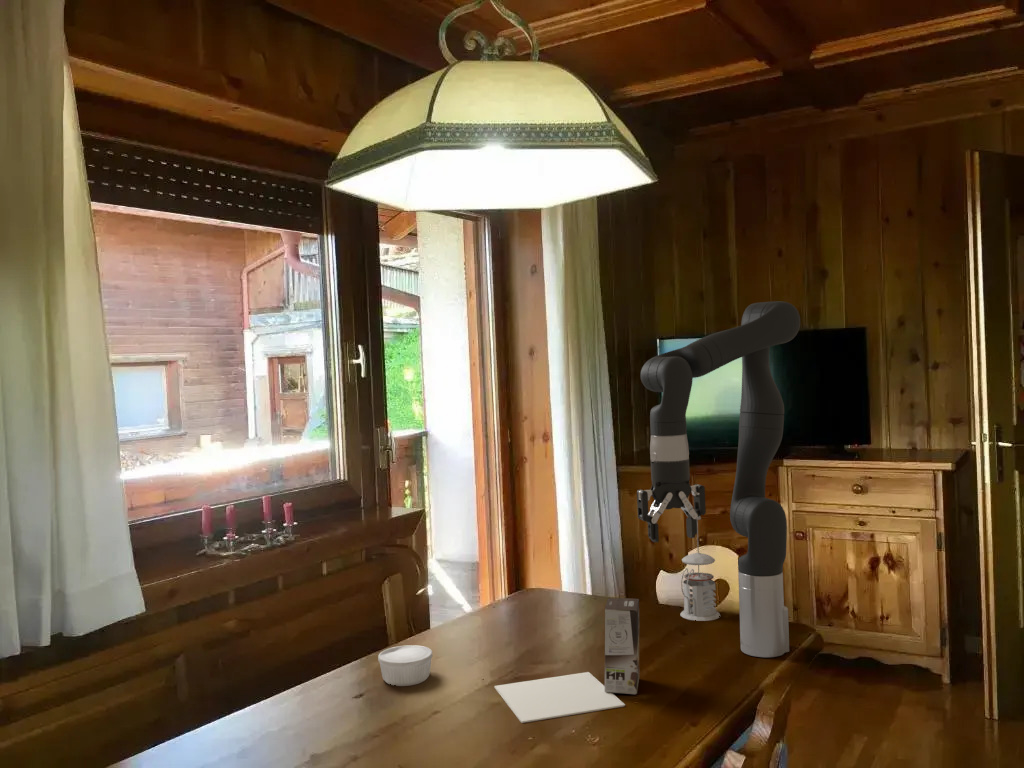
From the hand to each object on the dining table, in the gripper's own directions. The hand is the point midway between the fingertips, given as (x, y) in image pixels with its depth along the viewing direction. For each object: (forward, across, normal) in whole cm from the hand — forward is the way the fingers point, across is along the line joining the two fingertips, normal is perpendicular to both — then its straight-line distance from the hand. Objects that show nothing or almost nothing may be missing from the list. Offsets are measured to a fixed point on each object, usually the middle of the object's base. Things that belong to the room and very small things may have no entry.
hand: (672, 539), depth 170 cm
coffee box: (+28, +12, 0) cm, 30 cm away
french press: (+28, -24, -35) cm, 51 cm away
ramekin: (+28, +51, -21) cm, 62 cm away
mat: (+28, +26, 0) cm, 38 cm away
